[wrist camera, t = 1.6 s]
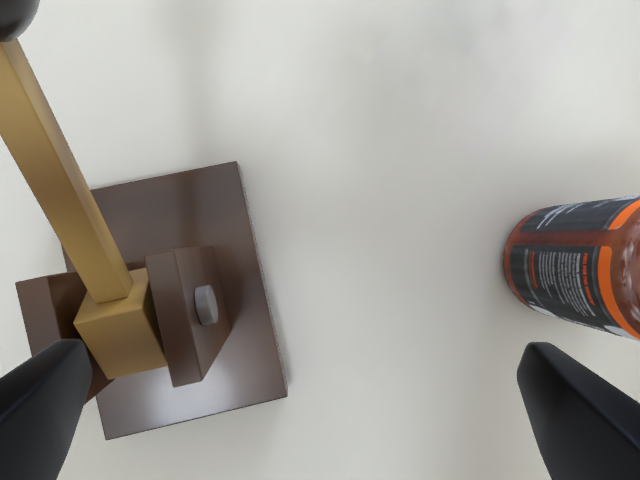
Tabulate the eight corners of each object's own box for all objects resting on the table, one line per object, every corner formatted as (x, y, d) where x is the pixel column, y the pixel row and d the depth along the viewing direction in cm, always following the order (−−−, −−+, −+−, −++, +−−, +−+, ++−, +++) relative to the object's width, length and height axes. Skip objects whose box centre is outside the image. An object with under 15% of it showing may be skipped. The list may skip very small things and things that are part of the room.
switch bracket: (64, 200, 22) (-81, 176, 13) (239, 165, 23) (210, 120, 14) (116, 428, 22) (7, 551, 14) (287, 387, 23) (288, 479, 14)
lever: (-142, -116, 10) (-300, -150, 7) (17, -139, 10) (-69, -182, 7) (107, 326, 18) (82, 399, 15) (194, 307, 18) (188, 374, 15)
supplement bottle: (543, 336, 24) (768, 422, 13) (476, 253, 24) (647, 268, 13) (621, 266, 25) (908, 291, 13) (557, 184, 24) (794, 138, 13)
